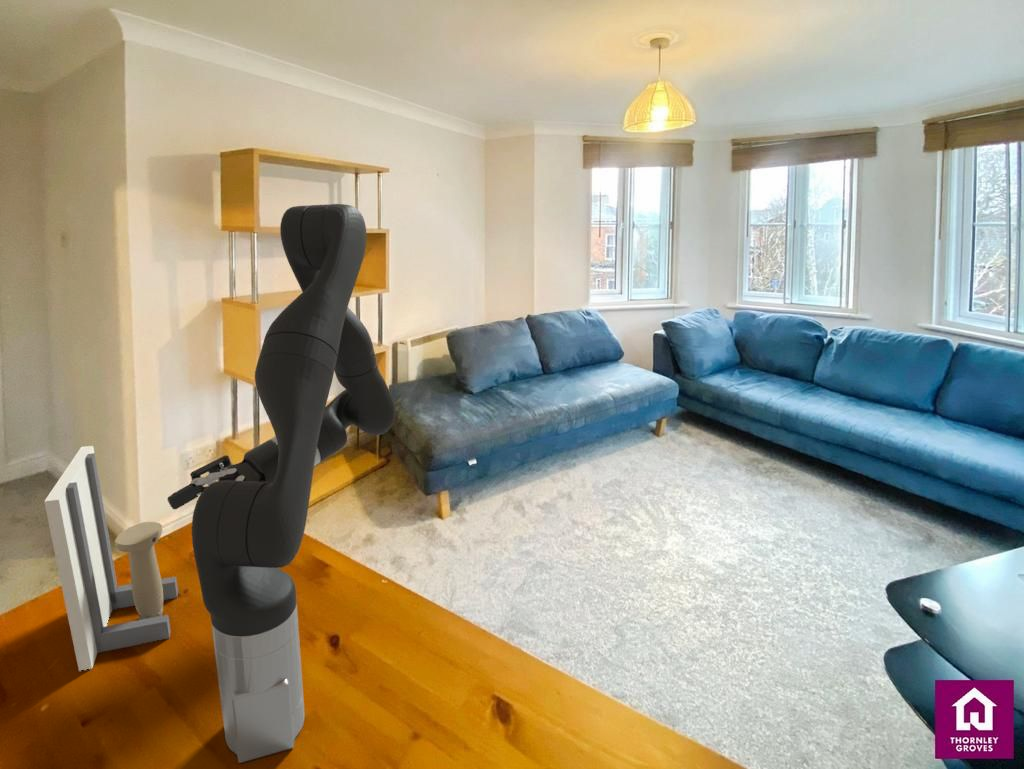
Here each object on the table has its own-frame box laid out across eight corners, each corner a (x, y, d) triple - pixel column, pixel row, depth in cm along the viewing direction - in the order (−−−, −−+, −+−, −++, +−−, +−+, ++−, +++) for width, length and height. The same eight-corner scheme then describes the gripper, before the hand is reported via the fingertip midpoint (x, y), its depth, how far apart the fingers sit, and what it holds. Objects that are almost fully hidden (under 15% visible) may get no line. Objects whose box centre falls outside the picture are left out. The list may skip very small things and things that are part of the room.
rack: (166, 653, 85) (141, 489, 78) (79, 671, 81) (44, 501, 74) (180, 580, 101) (160, 439, 94) (107, 593, 97) (81, 446, 90)
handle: (121, 629, 89) (106, 542, 85) (153, 603, 96) (140, 520, 91) (150, 634, 89) (137, 546, 84) (180, 607, 95) (168, 523, 91)
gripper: (254, 423, 97) (152, 477, 87) (300, 460, 88) (193, 524, 79) (268, 457, 101) (171, 513, 91) (313, 496, 93) (212, 561, 83)
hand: (181, 518), depth 85 cm, fingers open, 8 cm apart
